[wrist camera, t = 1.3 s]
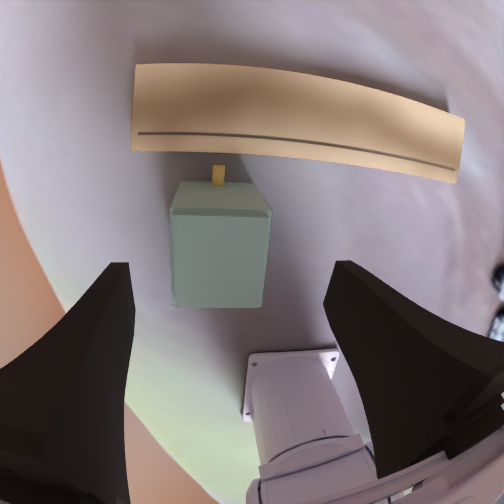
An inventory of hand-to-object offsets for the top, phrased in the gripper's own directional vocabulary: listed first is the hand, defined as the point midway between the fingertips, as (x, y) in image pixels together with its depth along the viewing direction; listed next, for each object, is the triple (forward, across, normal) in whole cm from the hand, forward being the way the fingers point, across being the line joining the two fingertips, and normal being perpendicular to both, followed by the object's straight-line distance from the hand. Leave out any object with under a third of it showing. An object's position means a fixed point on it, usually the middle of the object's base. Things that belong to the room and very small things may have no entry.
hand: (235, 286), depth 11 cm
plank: (+10, -6, -5) cm, 13 cm away
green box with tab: (+10, 0, +2) cm, 10 cm away
